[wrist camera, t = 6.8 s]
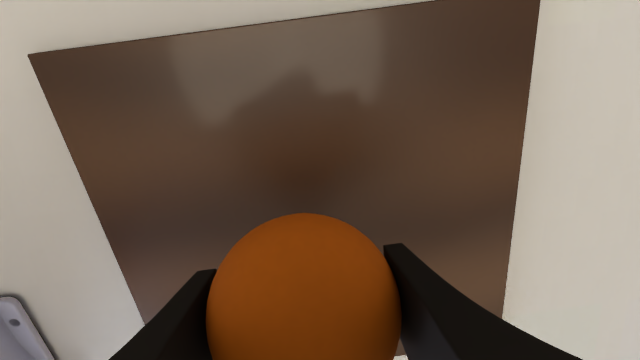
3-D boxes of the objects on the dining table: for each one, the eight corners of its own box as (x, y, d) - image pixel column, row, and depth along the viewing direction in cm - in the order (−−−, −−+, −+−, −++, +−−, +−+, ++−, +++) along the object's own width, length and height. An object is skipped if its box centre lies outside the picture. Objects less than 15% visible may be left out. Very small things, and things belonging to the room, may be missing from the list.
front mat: (33, 53, 14) (26, 54, 14) (536, -13, 14) (542, -14, 14) (174, 382, 22) (172, 388, 22) (496, 336, 22) (499, 341, 22)
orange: (209, 195, 12) (140, 324, 6) (373, 173, 12) (433, 283, 6) (244, 319, 14) (212, 488, 9) (381, 300, 14) (431, 457, 9)
